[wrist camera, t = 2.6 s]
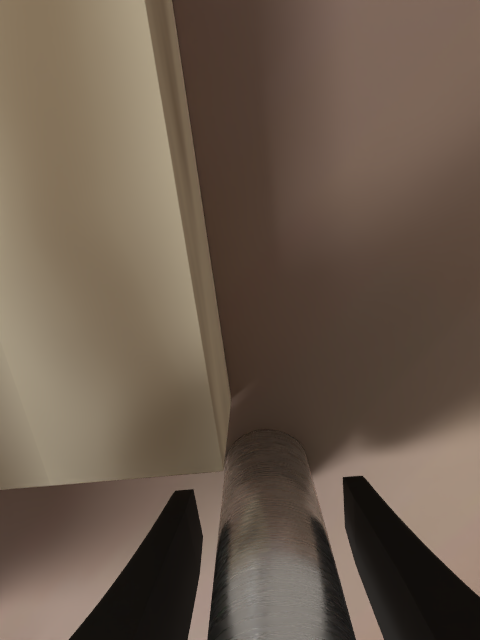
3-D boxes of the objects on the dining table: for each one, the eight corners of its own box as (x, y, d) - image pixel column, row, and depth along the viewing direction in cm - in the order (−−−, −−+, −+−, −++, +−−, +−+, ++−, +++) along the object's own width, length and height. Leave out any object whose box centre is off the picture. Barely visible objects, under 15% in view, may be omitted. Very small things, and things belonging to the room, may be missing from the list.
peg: (231, 500, 12) (209, 831, 5) (220, 433, 11) (177, 721, 4) (310, 495, 12) (391, 830, 5) (304, 425, 11) (391, 714, 4)
